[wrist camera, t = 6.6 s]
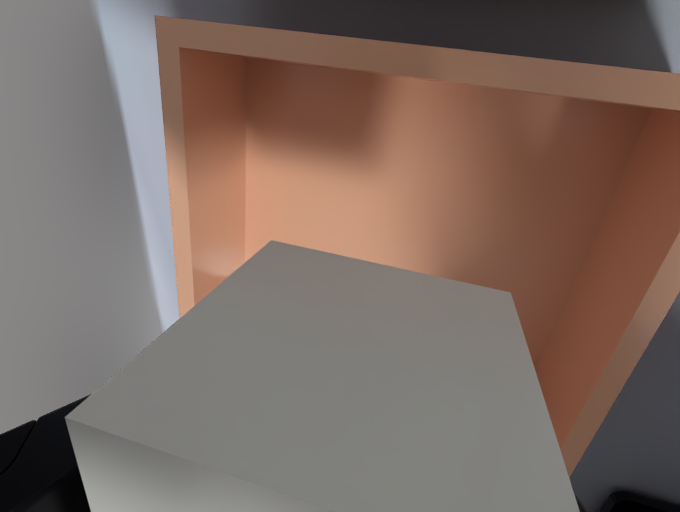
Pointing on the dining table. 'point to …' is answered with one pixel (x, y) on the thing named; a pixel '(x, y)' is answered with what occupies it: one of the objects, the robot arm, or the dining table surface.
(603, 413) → the terracotta bin
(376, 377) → the grey block
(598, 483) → the dining table surface
